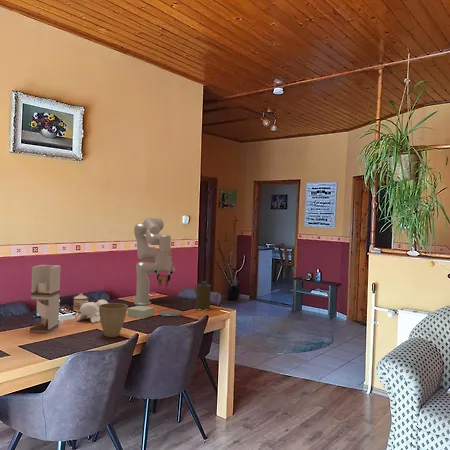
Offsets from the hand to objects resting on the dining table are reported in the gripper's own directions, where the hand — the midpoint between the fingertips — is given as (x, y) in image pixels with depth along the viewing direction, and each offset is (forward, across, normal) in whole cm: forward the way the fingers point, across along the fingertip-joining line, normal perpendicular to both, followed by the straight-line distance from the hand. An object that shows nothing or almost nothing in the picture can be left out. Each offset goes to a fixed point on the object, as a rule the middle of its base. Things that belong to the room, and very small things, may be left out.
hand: (163, 280), depth 282 cm
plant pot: (+23, +18, +54) cm, 62 cm away
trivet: (+23, -5, -2) cm, 24 cm away
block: (+23, +13, +5) cm, 27 cm away
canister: (+23, -25, -25) cm, 42 cm away
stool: (+4, 0, 0) cm, 4 cm away
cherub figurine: (+23, +39, +21) cm, 50 cm away
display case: (+23, +57, +49) cm, 79 cm away
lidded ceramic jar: (+23, +54, 0) cm, 59 cm away
